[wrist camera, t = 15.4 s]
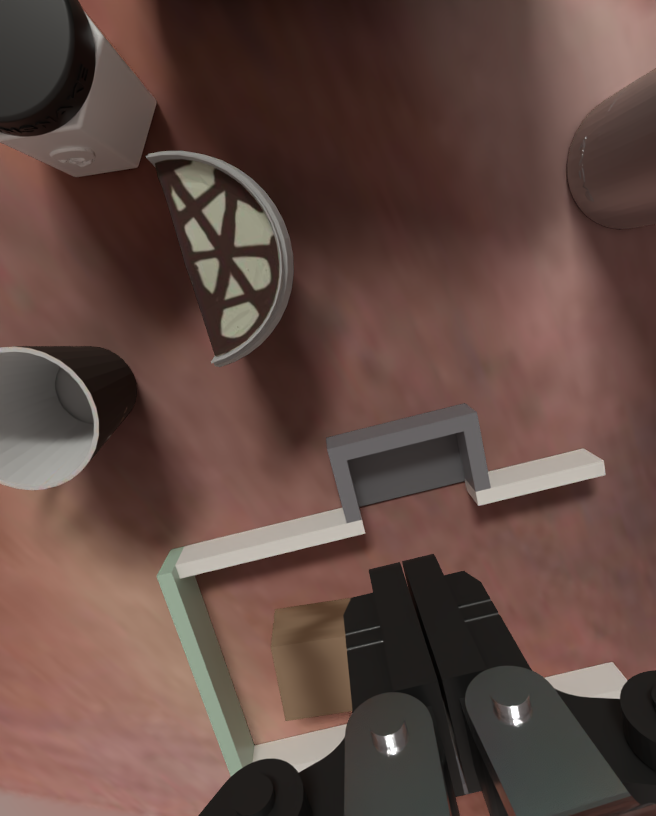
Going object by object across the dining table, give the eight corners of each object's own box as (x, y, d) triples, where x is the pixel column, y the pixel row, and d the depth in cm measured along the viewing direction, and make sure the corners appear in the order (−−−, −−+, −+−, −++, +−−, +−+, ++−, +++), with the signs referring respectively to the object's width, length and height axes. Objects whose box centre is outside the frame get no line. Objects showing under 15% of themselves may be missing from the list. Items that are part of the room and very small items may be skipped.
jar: (45, 186, 36) (-84, 137, 24) (11, 56, 34) (-147, -66, 22) (170, 166, 36) (103, 108, 24) (144, 35, 34) (55, -97, 22)
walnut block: (354, 596, 44) (359, 634, 39) (364, 663, 46) (371, 708, 41) (275, 608, 44) (270, 647, 39) (288, 675, 46) (285, 721, 41)
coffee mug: (138, 324, 38) (79, 337, 28) (161, 433, 40) (113, 480, 30) (-15, 344, 38) (-127, 363, 28) (15, 452, 40) (-79, 504, 30)
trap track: (573, 376, 40) (601, 385, 36) (621, 726, 48) (648, 764, 44) (146, 482, 41) (129, 503, 37) (263, 808, 49) (259, 853, 45)
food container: (315, 330, 39) (317, 345, 29) (238, 351, 39) (214, 372, 29) (271, 160, 36) (256, 113, 26) (187, 183, 36) (142, 145, 26)
